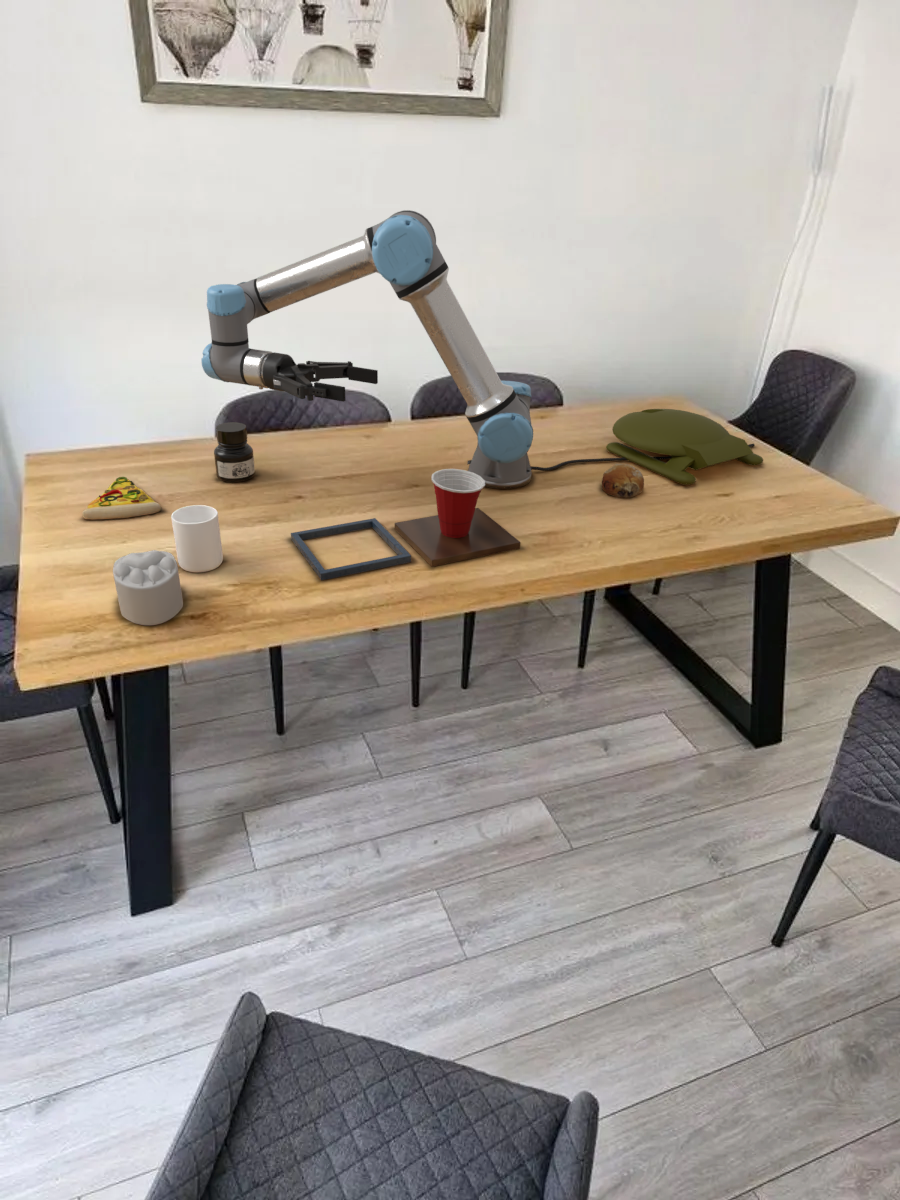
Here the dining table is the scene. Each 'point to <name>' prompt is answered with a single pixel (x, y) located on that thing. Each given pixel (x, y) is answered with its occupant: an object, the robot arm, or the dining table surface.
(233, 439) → the ink bottle
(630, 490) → the bread roll
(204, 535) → the mug
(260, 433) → the dining table surface
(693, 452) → the spaceship
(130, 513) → the pizza slice
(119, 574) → the egg container
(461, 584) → the dining table surface
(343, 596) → the dining table surface
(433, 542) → the walnut board
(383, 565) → the square frame
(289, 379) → the robot arm
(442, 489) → the plastic cup
